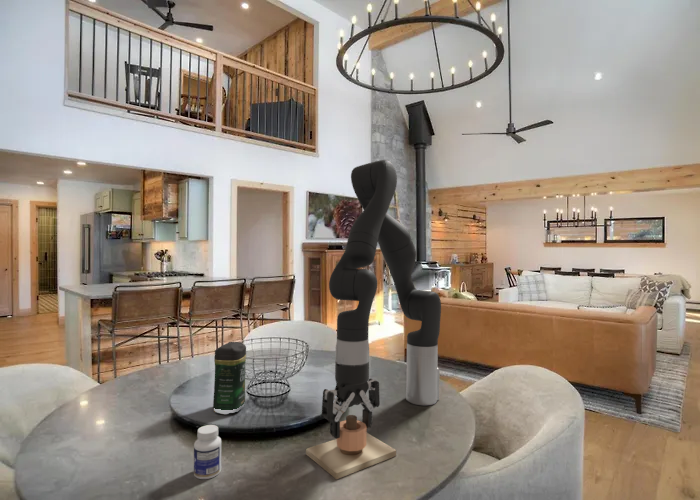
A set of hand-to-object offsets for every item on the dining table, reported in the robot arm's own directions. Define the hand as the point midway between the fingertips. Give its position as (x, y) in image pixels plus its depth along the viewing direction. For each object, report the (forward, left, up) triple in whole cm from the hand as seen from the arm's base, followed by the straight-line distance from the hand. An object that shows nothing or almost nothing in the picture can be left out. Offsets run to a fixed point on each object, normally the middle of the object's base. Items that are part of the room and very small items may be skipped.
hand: (351, 431), depth 89 cm
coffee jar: (+13, -40, -5) cm, 42 cm away
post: (0, 0, -4) cm, 4 cm away
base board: (0, 0, -5) cm, 5 cm away
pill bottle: (+28, -11, -5) cm, 31 cm away
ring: (0, 0, -3) cm, 3 cm away
